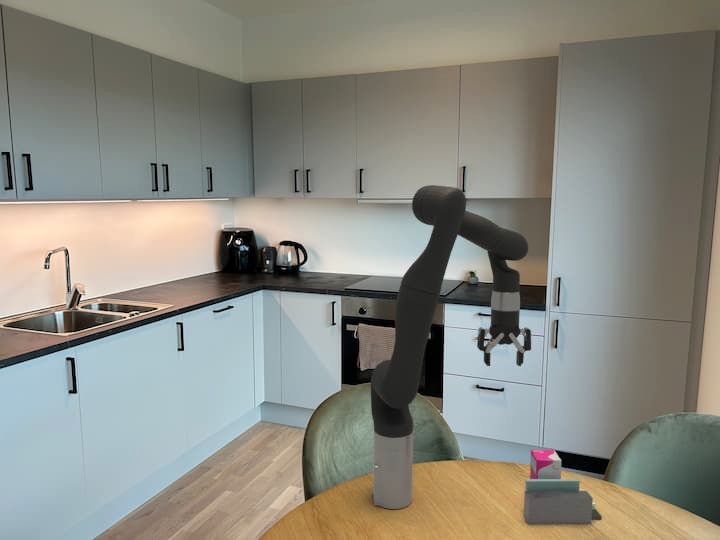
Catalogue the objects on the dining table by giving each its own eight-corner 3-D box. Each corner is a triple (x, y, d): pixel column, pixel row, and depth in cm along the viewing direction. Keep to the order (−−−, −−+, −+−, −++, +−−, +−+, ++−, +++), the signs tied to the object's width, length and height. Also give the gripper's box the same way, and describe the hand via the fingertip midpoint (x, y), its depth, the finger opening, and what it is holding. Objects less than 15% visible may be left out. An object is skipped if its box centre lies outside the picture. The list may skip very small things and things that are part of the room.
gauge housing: (528, 524, 116) (529, 498, 115) (513, 498, 126) (514, 474, 126) (604, 523, 116) (606, 498, 115) (583, 497, 127) (585, 474, 126)
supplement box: (553, 494, 128) (555, 449, 127) (560, 507, 122) (562, 460, 121) (528, 493, 129) (530, 448, 127) (534, 506, 123) (536, 459, 121)
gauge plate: (525, 510, 120) (527, 481, 119) (524, 507, 121) (525, 479, 120) (595, 509, 121) (597, 481, 120) (593, 507, 122) (595, 478, 121)
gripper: (482, 310, 139) (480, 369, 141) (536, 310, 140) (533, 369, 142) (476, 304, 147) (474, 361, 149) (526, 304, 147) (524, 361, 149)
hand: (503, 365), depth 145 cm, fingers open, 8 cm apart
